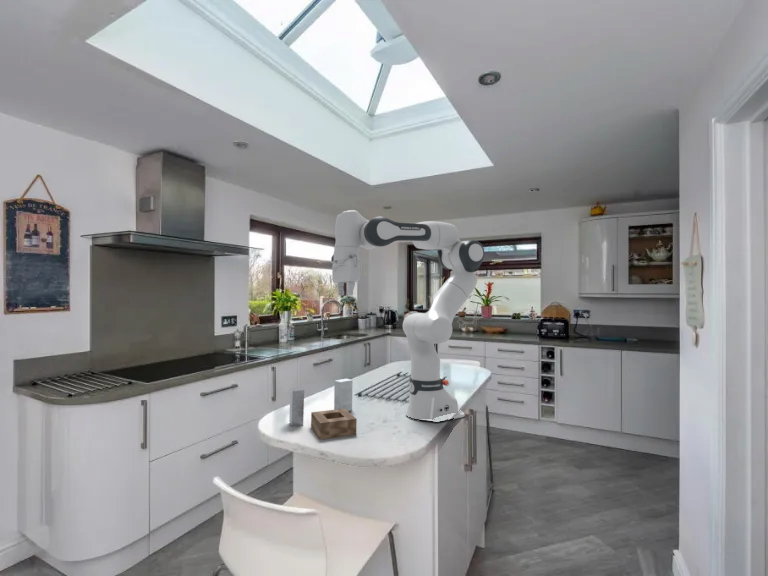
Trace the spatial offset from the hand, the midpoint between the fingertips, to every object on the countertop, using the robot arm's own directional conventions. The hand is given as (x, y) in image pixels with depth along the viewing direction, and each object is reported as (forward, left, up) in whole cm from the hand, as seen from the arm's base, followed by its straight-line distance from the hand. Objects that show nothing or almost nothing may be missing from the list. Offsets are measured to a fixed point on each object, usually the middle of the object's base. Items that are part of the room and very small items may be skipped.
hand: (345, 295), depth 131 cm
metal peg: (+14, -7, -45) cm, 48 cm away
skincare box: (-6, -16, -45) cm, 48 cm away
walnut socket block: (+4, +4, -45) cm, 46 cm away
